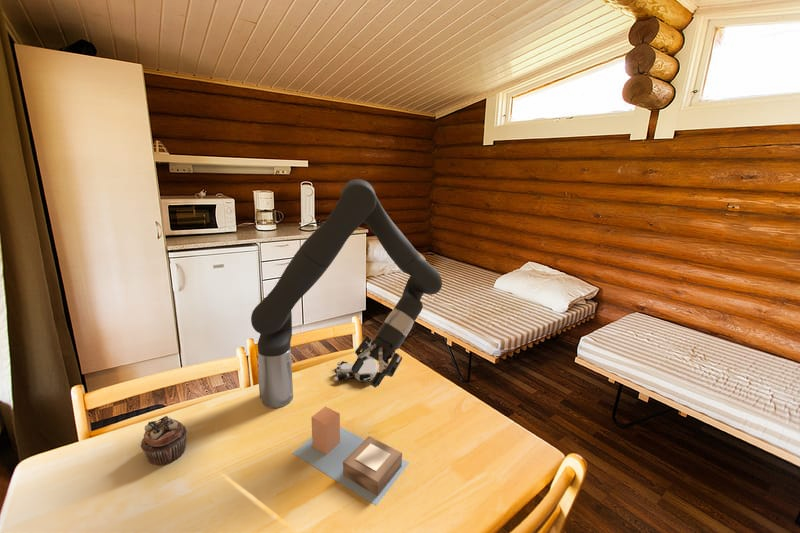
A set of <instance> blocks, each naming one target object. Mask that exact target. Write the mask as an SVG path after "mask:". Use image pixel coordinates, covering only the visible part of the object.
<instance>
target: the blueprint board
mask: <svg viewBox="0 0 800 533" xmlns="http://www.w3.org/2000/svg"><path fill="white" fill-rule="evenodd" d="M364 440H365V438H362V437H360V436H358V435H356V434H355V433H353V432H351V431H349V430H347V429H346V428H343V427H341V426H340V443H339V444H338V445H337V446H336V447H335V448H334V449H333V450H332V451H330V452H329V453H328V454H327V455H326V454H325V453H323V452H321V451H320V450H318V449H316V448H314V447H313V446H312V436H311V437H310V438H309V439H308V440H307V441H305V442H304V443H303V444H302V445H301V446H299V447H298V448H296V449H295V450H294V451H293V452H292V454H293V455H295V457H297V458H299V459H301V460H303V461H304V462H306V464H308V465H310V466H311V467H313V468H314V469H316V470H319V472H322V473H323V474H325V475H326V476H328V477H329V478H331V479H333V480H334V481H336V482H337V483H339V484H340V485H342V486H344V487H345V488H347V489H349V490H350V491H352V492H353V493H355V494H357V495H358V496H360V497H361V498H363V499H365V500H366V501H367V502H370V503H371V504H372V505H373V506H378V504H379V503H380V501H382V499H383V498H384V496H385V495H386V494H387V493H388V491H389V490H390V488H391V487H392V486H393V484H394V483H395V482H396V481H397V480H398V479H399V477H400V475H402V473H403V471H404V470H405V469H406V467H407V466H408V465H409V464H410V462H408V461H407V460H405V459H403V458H402V466H401V468H400V469H399V470H398V472H397V473H396V474H395V475H394V477H393V478H392V479H391V480H390V482H389V483H388V484H387V485H386V487H385V488H384V489H383V490H382V492H381V493H380V494H379V496H376V495H375V494H373V493H371V492H370V491H368V490H366V489H365V488H363V487H361V486H360V485H358V484H356V483H355V482H353V481H351V480H350V479H348V478H347V477H345V476H343V461H344V460H345V459H346V458H347V457H348V456H349V455H350V454H351V453H352V452H353V451H354V450H355V449H356V448H357V447H358V446H359V445H360V444H361V443H362V442H363V441H364Z"/></svg>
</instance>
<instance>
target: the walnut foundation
mask: <svg viewBox="0 0 800 533" xmlns="http://www.w3.org/2000/svg"><path fill="white" fill-rule="evenodd" d="M402 459H403V452H402V451H399V450H397V449H395V448H394V447H391V446H389V445H388V444H386V443H384V442H381V441H380V440H378V439H375V438H373V437H372V436H370V435H369V436H367V437H366V438H364V441H363V442H362V443H361V444H360V445H359V446H358V447H357V448H356V449H355V450H354V451H353V452H352V453H351V454H350V455H349V456H348V457H347V458H346V459H345V460H344V461H343V476H345V477H347V478H348V479H350V480H351V481H353V482H355V483H356V484H358V485H360V486H361V487H363V488H365V489H366V490H368V491H370V492H371V493H373V494H375V495H376V496H379V494H380V493H381V492H382V490H383V489H384V488H385V487H386V485H387V484H388V483H389V482H390V480H391V479H392V478H393V477H394V475H395V474H396V473H397V472H398V470H399V469H400V468H401V466H402Z"/></svg>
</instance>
